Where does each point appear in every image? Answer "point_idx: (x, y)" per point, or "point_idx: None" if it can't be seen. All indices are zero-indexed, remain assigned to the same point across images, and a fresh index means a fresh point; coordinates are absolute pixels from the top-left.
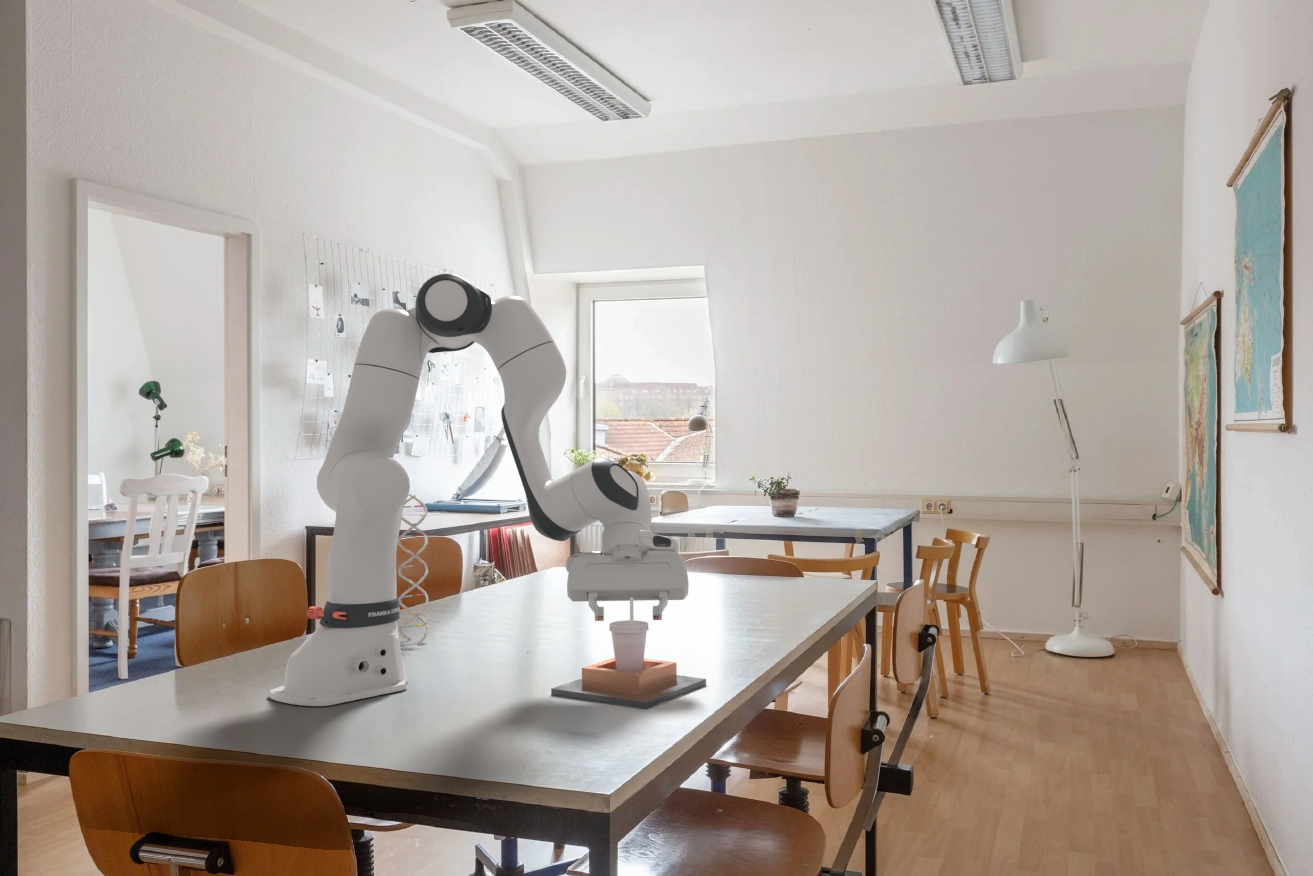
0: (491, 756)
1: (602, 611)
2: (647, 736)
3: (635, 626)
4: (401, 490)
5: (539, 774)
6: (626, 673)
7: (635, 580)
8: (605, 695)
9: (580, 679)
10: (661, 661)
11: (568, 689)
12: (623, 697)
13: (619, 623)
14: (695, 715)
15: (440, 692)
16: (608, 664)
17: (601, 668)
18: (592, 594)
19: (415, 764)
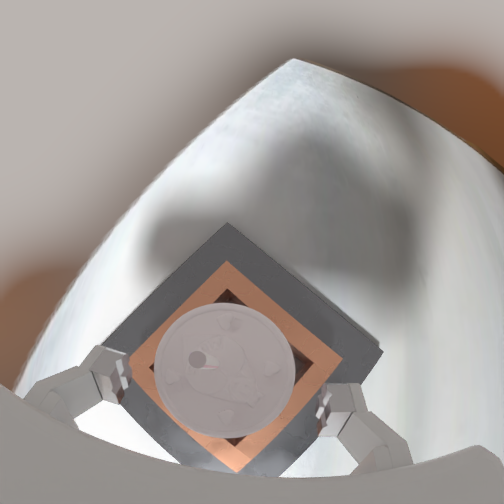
0: (390, 122)
1: (333, 392)
2: (249, 128)
3: (209, 306)
4: None
5: (343, 85)
6: (250, 282)
7: (132, 501)
8: (291, 281)
9: None
10: (150, 386)
11: (355, 340)
12: (260, 261)
13: (257, 387)
14: (168, 187)
15: (497, 374)
16: None
17: (300, 345)
18: (394, 458)
19: (432, 127)
